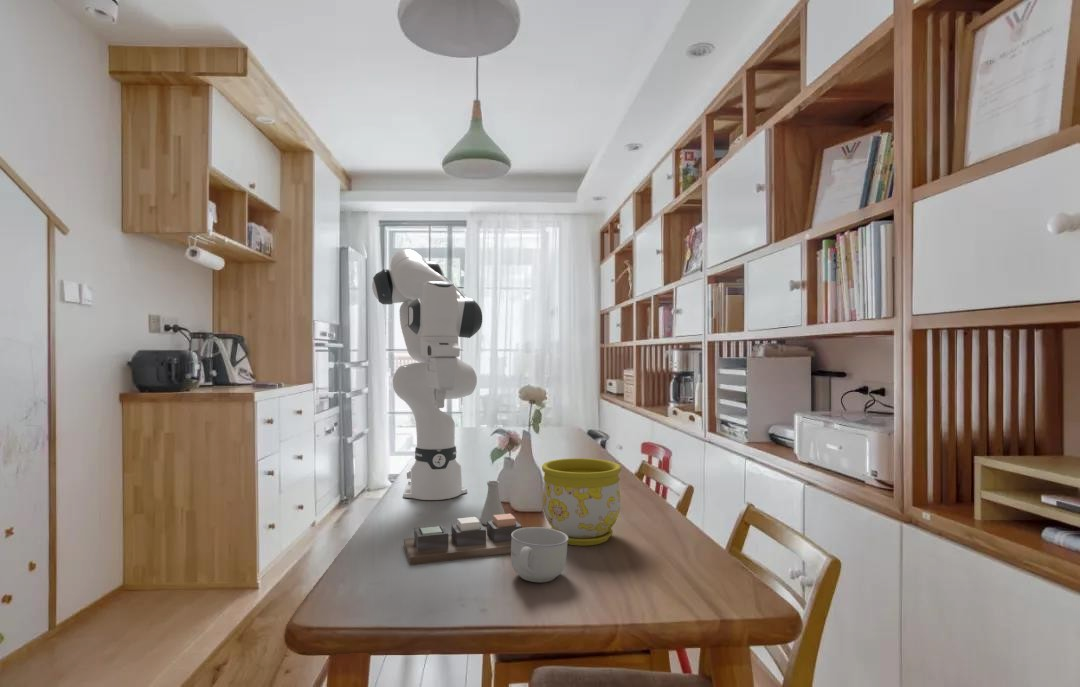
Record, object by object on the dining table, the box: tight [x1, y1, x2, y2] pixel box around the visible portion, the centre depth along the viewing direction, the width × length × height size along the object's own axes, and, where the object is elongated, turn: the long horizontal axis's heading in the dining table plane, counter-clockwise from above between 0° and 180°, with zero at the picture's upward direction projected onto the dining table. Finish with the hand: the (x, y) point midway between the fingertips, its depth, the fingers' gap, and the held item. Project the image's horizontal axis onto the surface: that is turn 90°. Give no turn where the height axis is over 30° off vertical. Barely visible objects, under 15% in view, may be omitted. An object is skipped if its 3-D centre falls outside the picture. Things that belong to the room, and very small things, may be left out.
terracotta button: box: [493, 513, 517, 527], centre depth 129 cm, size 4×4×2 cm
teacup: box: [510, 526, 568, 583], centre depth 109 cm, size 14×11×8 cm
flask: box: [478, 480, 506, 526], centre depth 146 cm, size 7×7×10 cm
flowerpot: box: [541, 457, 622, 547], centre depth 134 cm, size 18×18×16 cm
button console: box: [403, 520, 523, 566], centre depth 126 cm, size 12×26×4 cm, turn 109°
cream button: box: [456, 516, 480, 531], centre depth 126 cm, size 4×4×2 cm
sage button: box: [419, 525, 442, 535], centre depth 123 cm, size 4×4×2 cm
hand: (439, 407), depth 138 cm, fingers closed
